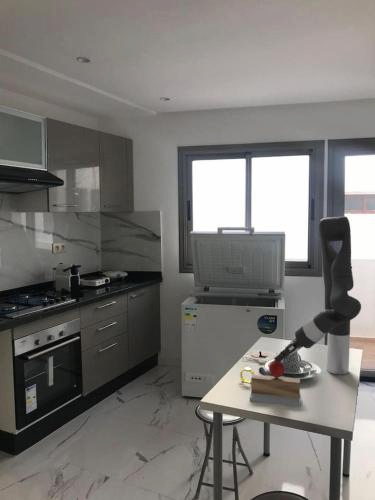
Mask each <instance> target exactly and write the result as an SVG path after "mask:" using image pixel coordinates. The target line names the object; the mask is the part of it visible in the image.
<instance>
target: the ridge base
mask: <svg viewBox="0 0 375 500" xmlns="http://www.w3.org/2000/svg"><path fill="white" fill-rule="evenodd" d="M249 401H251V402H257V403H268V404H276V405H285V406H293V407H300V398H293V397H284V396H275V395H265V394H256V393H251V392H250V396H249Z"/></svg>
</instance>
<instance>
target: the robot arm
mask: <svg viewBox="0 0 375 500" xmlns="http://www.w3.org/2000/svg"><path fill="white" fill-rule="evenodd" d="M318 223H319V224H318V234H319V240H320V247H321V255H322V276H323V281H324V282H323V284H324V309H323V310H321V311H320V312H318V313H317V314H316V315H315V316H313V318H311V319H309V320H308V321H307V322H306V323H304V324H303V325H302V326H300V327H299V328H298V329H297V330H296V331H295V334H294V336H295V338H294V339H292V340H291V341H290V343H288V344H287V345H286V346H285V347H284V349H283V350H281V351H279V353H278V355H276V356H275V357H274V360H275V361H276V362H277V363H279V362H280V361H281V362H282V361H283V360H285V359H286V358H287V357H289V356H292V355H293V354H294V353H296V352H299V350H301V349H302V348H305V349H310V348H312V347H313V346H315V345H316V344H317V343H318V342H320V341H321V340H323V338H324V337H325V336H326V335H327V340H326V341H327V343H326V346H327V348H326V350H327V351H326V371H327V372H328V373H331V374H334V375H347V374H349V372H350V371H349V370H350V367H349V365H350V341H351V340H350V339H351V337H350V336H351V321H352V320H353V319H355V318H356V317H358V315H359V314H360V312H361V311H362V304H361V301H359V300H358V299H357V298H355V297H354V296H351V295H350V294H349V292H350V291H352V290H353V288H354V283H355V282H354V276H353V270H352V235H351V223H350V220H349V218H348V217H347V216H343V215H341V216H331V217H323V218H321V219H320V220H319V222H318ZM331 242H341V247H340V250H339V251H338V252H337V251H336V250H335V248H334V247H333V246H332V245H331Z"/></svg>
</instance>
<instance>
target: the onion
mask: <svg viewBox="0 0 375 500" xmlns="http://www.w3.org/2000/svg"><path fill="white" fill-rule="evenodd" d="M285 369H286V368H285V365H284V364H283V362H282V360H281V361H280V362H279V363H277V362H276V361H275V359H274V360H273V361H272V362H270V364H269V367H268V370H269V373H270V374H271V376H274V377H275V378H279V377H283V375H284V374H285V371H286V370H285Z"/></svg>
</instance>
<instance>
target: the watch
mask: <svg viewBox="0 0 375 500" xmlns="http://www.w3.org/2000/svg"><path fill="white" fill-rule="evenodd" d="M244 371H245V372H250V373H251V375H252V374H254V375H256V374H255V373H254V371H253V370H252V367H248V366H247V367H244V369H242V370H241V372H240V375H239V377H240V379H241V381H242V382H243V383H248V384H251V381H250V380H246V379H245V378H244V376H243V372H244Z"/></svg>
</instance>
